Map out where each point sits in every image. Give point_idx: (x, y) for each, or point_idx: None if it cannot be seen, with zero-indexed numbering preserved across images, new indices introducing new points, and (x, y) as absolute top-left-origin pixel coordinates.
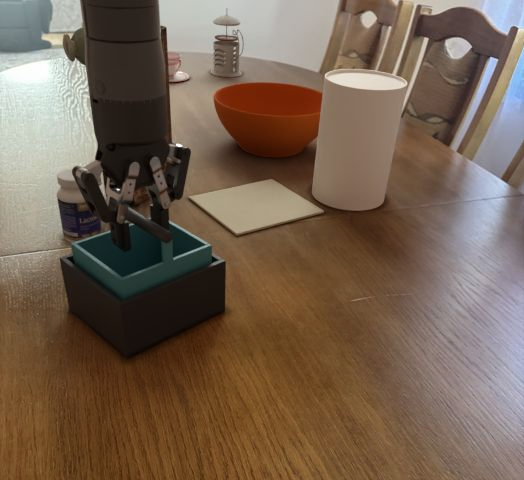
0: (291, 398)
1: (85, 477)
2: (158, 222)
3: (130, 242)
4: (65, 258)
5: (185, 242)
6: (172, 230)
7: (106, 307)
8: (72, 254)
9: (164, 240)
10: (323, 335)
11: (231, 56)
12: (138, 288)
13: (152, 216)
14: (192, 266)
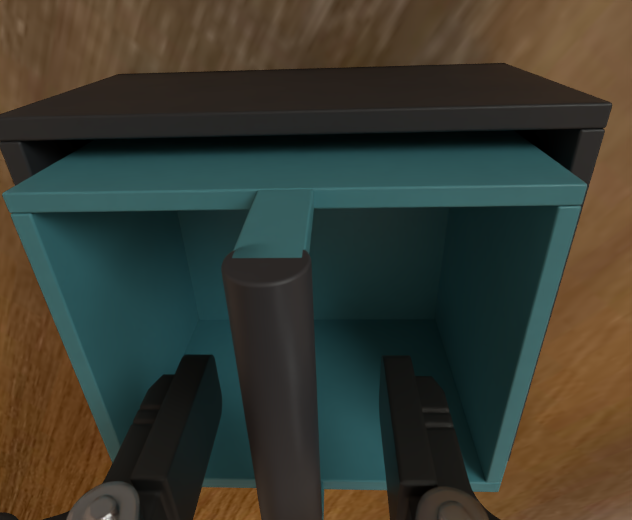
0: (355, 514)
1: (35, 464)
2: (386, 460)
3: (213, 440)
4: (16, 143)
5: (494, 358)
6: (517, 300)
7: None
8: (54, 128)
9: None
10: (531, 472)
11: None
12: None
13: (390, 439)
14: None
